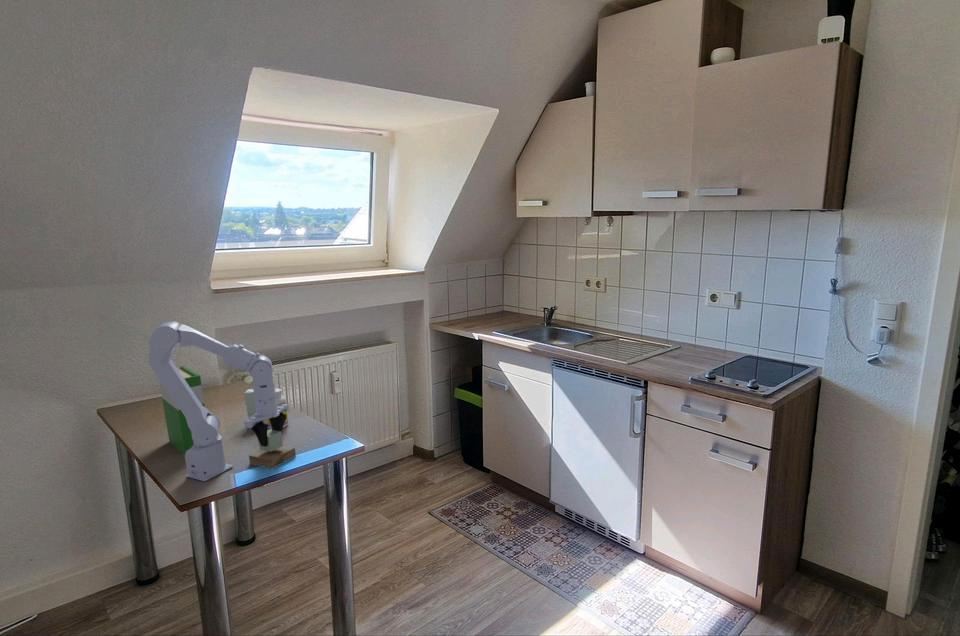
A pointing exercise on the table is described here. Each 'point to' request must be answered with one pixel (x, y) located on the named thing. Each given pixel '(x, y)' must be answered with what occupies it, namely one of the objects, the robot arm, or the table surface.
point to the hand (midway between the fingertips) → (270, 442)
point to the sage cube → (272, 441)
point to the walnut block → (272, 456)
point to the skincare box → (251, 403)
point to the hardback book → (180, 412)
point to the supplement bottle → (280, 401)
